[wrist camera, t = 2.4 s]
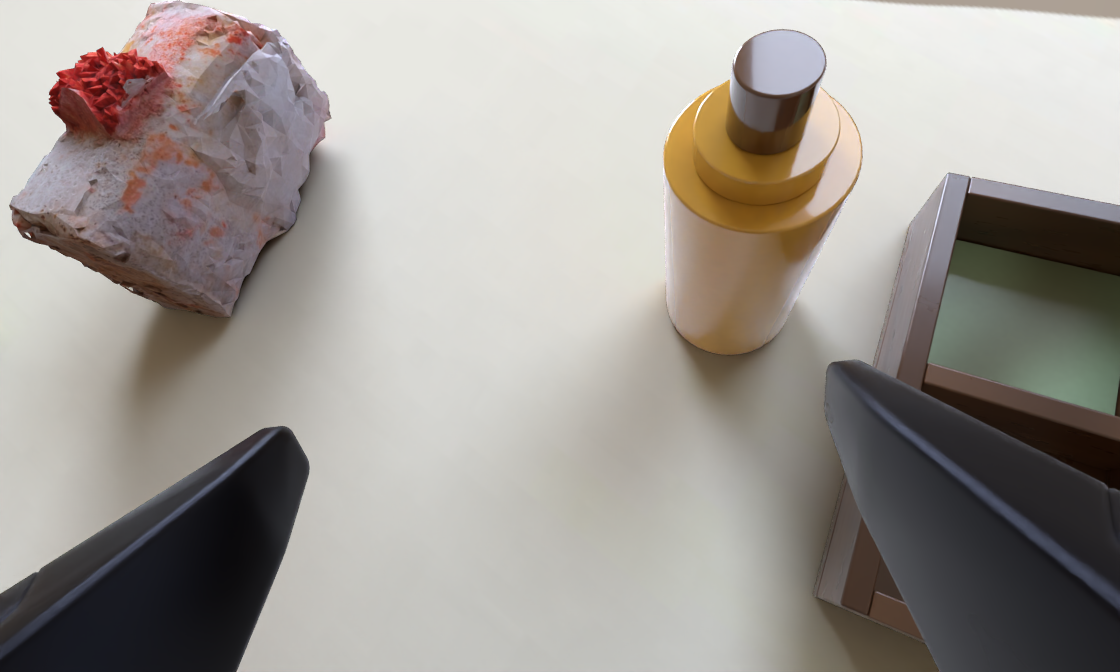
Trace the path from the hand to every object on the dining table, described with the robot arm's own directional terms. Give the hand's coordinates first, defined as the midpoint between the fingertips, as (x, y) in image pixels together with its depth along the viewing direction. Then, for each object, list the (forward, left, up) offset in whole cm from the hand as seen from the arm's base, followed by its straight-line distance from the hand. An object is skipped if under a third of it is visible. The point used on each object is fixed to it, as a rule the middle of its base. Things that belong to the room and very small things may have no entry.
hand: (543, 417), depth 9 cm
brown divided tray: (-10, -10, -14) cm, 20 cm away
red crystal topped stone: (+26, -2, -15) cm, 29 cm away
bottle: (+1, -10, -14) cm, 17 cm away
